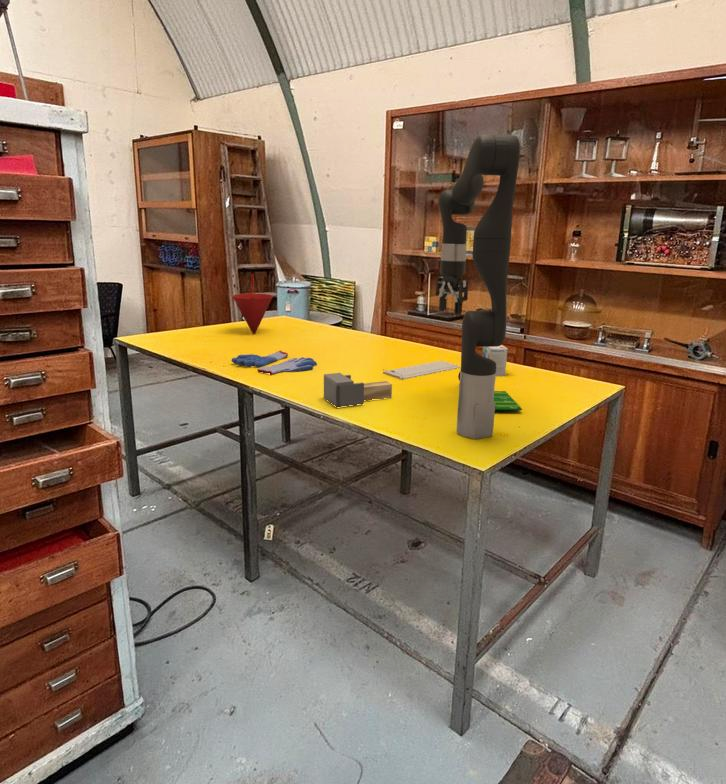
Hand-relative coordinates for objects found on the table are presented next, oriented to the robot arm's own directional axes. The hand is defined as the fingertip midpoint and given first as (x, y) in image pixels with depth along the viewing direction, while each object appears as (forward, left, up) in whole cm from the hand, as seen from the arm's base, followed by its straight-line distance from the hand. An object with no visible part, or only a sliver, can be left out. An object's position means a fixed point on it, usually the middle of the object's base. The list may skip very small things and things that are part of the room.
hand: (449, 312), depth 179 cm
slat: (+9, +25, -28) cm, 39 cm away
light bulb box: (+22, -36, -28) cm, 51 cm away
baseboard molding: (+34, -12, -29) cm, 46 cm away
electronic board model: (-5, -12, -28) cm, 31 cm away
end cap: (+9, +32, -28) cm, 44 cm away
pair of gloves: (+63, +38, -29) cm, 79 cm away
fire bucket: (+127, +30, -28) cm, 134 cm away
